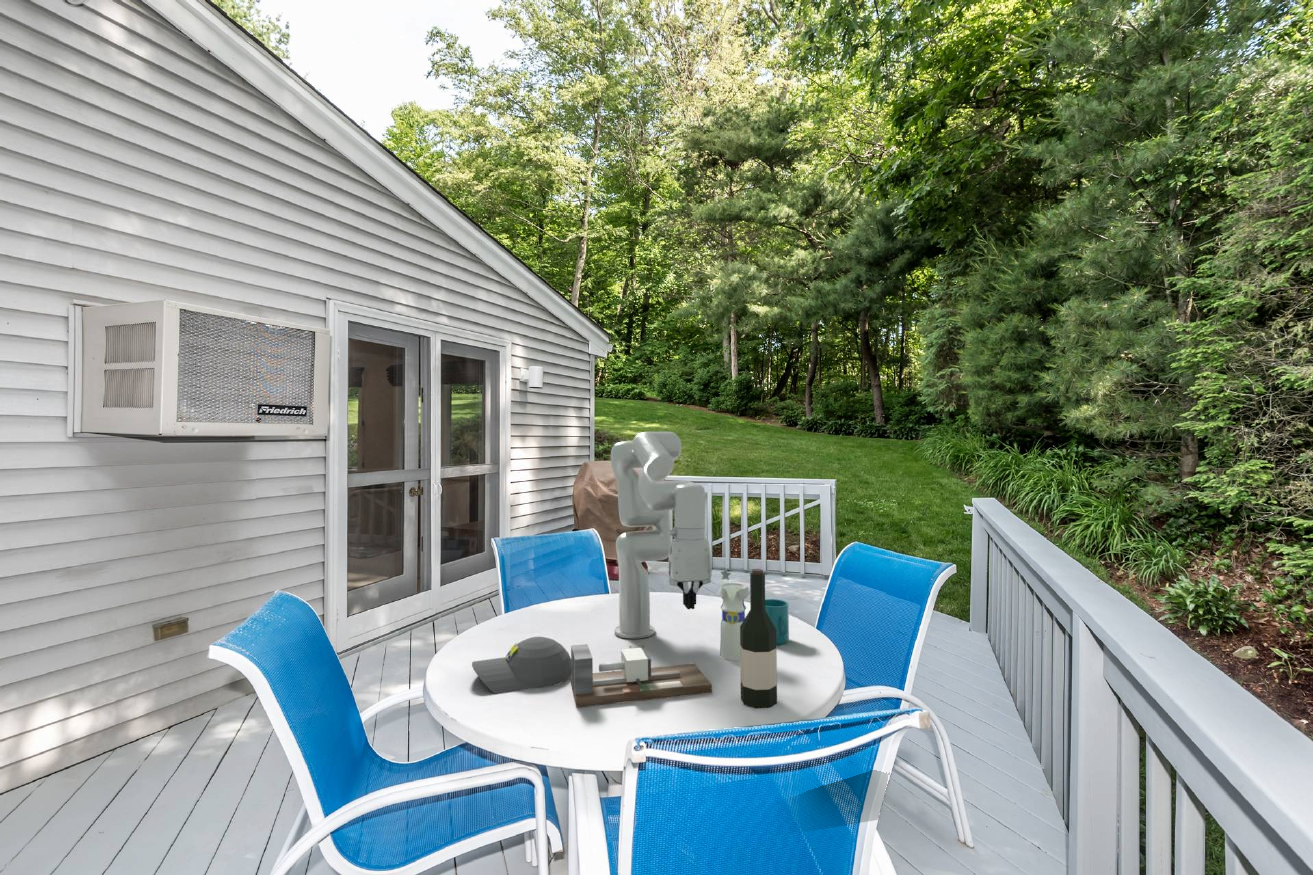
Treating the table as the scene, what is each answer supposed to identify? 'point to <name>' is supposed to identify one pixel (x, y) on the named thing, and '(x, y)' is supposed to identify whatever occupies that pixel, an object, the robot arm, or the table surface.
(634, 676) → the white block grey face
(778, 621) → the cup
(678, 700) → the table surface
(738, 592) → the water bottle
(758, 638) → the wine bottle
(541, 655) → the baseball cap
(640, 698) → the base
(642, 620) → the robot arm
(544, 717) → the table surface
